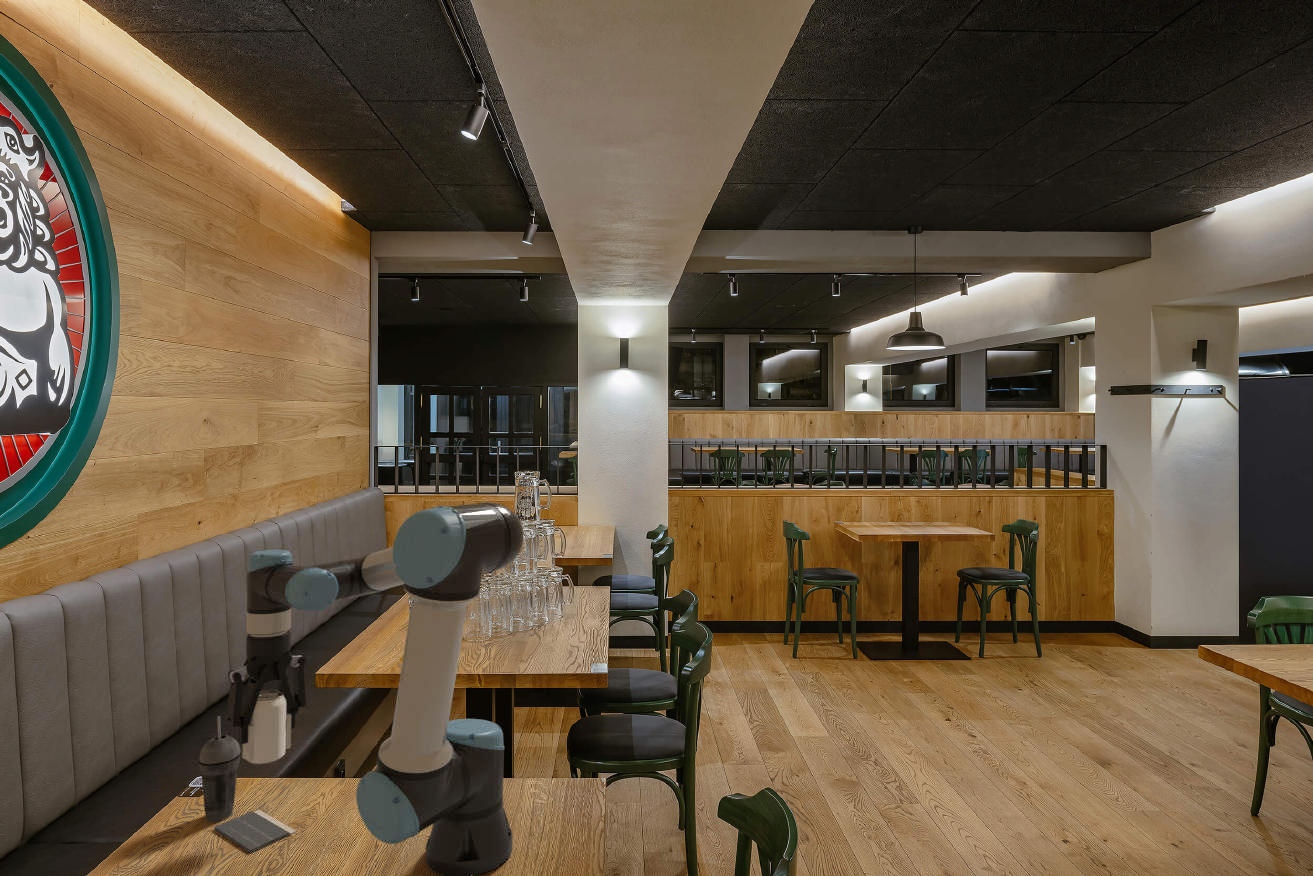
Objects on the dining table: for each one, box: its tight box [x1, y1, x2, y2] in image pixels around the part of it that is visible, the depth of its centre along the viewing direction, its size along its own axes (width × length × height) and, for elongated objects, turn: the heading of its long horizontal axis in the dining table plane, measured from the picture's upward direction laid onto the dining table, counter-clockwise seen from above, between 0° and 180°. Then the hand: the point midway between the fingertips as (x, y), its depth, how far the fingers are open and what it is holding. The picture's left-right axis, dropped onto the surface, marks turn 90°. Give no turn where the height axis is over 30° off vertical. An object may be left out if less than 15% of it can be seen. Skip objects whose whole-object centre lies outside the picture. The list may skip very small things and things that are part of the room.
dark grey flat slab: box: [214, 809, 297, 854], centre depth 136 cm, size 14×8×1 cm, turn 56°
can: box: [249, 689, 286, 765], centre depth 137 cm, size 6×6×12 cm
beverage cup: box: [197, 715, 242, 823], centre depth 141 cm, size 7×7×20 cm
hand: (266, 752), depth 137 cm, fingers closed on can, 6 cm apart
